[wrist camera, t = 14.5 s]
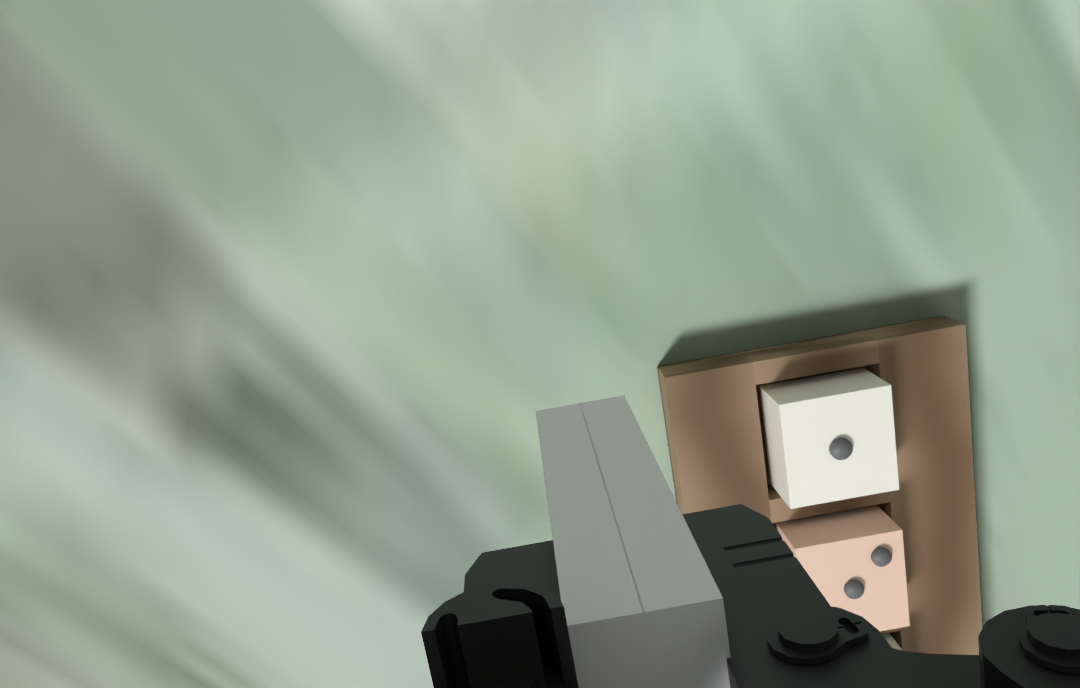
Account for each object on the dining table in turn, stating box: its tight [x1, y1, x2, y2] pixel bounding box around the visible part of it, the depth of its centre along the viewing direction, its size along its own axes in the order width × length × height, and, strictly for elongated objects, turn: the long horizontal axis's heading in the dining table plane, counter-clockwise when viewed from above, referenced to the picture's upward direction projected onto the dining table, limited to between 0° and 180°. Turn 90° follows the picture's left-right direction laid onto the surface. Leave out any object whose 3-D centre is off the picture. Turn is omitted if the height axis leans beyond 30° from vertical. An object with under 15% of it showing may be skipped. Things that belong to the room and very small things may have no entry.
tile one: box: [759, 368, 899, 509], centre depth 40 cm, size 5×5×3 cm
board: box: [657, 316, 982, 655], centre depth 43 cm, size 14×22×2 cm, turn 10°
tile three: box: [775, 505, 910, 631], centre depth 42 cm, size 5×5×3 cm
